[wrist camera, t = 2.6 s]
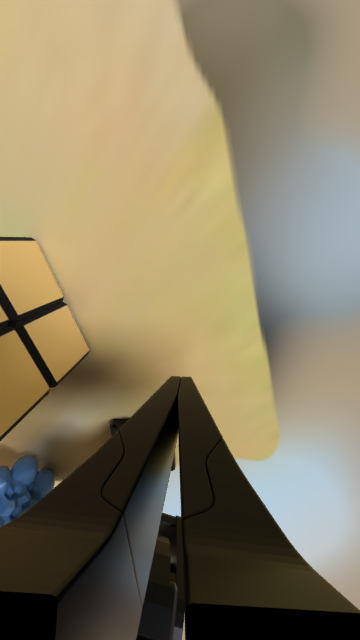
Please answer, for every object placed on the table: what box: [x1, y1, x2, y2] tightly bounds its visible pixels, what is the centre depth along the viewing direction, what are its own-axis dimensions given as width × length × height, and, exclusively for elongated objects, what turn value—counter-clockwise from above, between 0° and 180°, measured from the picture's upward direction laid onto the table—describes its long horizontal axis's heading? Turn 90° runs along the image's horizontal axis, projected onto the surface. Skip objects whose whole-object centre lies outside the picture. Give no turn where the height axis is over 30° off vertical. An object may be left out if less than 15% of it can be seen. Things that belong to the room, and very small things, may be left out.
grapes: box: [0, 456, 55, 527], centre depth 19 cm, size 12×7×12 cm, turn 26°
